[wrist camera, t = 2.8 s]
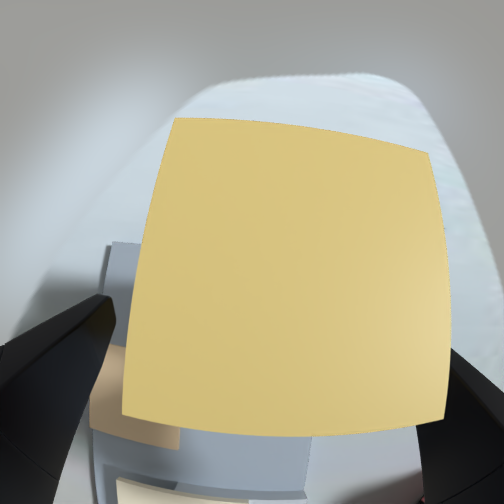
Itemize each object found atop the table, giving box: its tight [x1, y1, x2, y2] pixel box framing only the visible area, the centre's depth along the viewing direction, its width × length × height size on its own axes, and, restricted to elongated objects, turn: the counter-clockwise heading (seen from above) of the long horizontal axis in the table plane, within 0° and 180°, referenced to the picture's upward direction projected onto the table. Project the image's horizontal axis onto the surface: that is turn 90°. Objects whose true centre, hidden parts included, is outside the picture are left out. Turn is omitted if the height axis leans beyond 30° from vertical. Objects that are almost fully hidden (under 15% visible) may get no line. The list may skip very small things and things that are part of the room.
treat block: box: [122, 118, 451, 437], centre depth 9 cm, size 4×4×13 cm
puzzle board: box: [89, 242, 312, 504], centre depth 13 cm, size 22×13×2 cm, turn 175°
